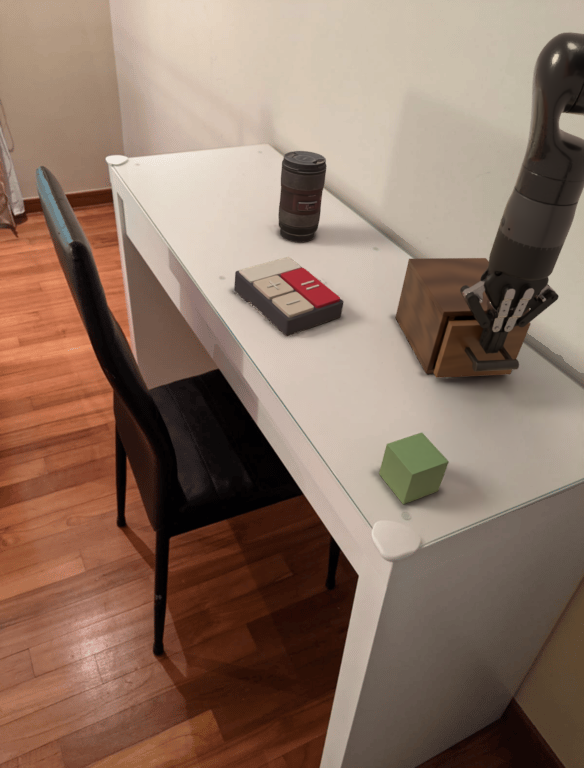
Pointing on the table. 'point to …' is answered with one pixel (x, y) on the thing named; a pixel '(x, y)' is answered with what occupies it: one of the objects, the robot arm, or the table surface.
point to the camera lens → (301, 195)
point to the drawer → (475, 350)
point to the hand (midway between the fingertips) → (488, 349)
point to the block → (413, 467)
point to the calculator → (288, 295)
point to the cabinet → (435, 301)
